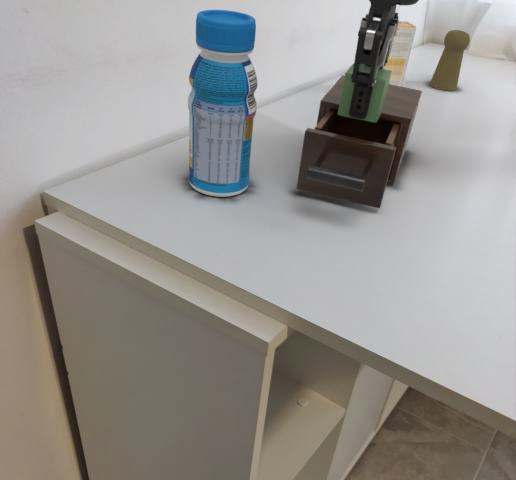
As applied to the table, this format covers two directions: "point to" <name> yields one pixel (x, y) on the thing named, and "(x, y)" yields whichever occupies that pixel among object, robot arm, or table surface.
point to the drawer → (348, 158)
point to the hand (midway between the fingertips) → (361, 110)
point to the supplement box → (400, 52)
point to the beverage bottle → (222, 103)
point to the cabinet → (384, 115)
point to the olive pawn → (450, 61)
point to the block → (376, 97)
